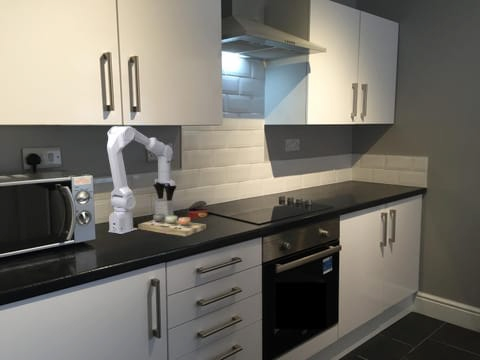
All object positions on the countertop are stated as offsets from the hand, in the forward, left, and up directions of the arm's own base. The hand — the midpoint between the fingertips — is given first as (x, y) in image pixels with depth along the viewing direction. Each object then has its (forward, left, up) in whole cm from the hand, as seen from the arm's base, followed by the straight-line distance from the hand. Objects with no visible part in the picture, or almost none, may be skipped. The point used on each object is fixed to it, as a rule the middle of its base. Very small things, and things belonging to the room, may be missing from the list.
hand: (165, 199), depth 199 cm
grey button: (-12, -7, -6) cm, 15 cm away
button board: (-12, -14, -10) cm, 21 cm away
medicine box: (+4, +4, -10) cm, 11 cm away
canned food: (+15, -8, -10) cm, 20 cm away
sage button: (-12, -14, -6) cm, 20 cm away
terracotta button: (-12, -21, -6) cm, 25 cm away
